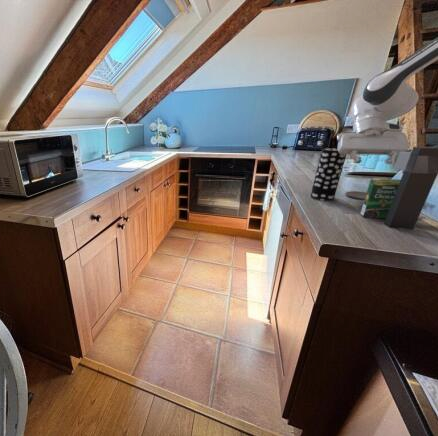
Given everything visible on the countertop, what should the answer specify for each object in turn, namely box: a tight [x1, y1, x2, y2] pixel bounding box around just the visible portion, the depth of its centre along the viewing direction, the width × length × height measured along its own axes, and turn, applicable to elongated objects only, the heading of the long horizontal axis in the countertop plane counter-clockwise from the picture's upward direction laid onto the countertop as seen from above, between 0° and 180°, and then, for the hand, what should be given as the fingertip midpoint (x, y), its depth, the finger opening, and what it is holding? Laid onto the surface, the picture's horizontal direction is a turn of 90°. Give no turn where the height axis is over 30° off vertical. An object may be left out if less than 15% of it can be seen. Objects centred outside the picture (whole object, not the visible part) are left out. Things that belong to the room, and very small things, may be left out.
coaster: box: [344, 190, 367, 201], centre depth 103 cm, size 11×11×1 cm
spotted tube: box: [309, 147, 348, 202], centre depth 99 cm, size 8×8×20 cm
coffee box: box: [359, 178, 401, 220], centre depth 81 cm, size 8×3×13 cm, turn 68°
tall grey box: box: [383, 146, 438, 230], centre depth 74 cm, size 8×6×24 cm
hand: (373, 162), depth 87 cm, fingers open, 8 cm apart
